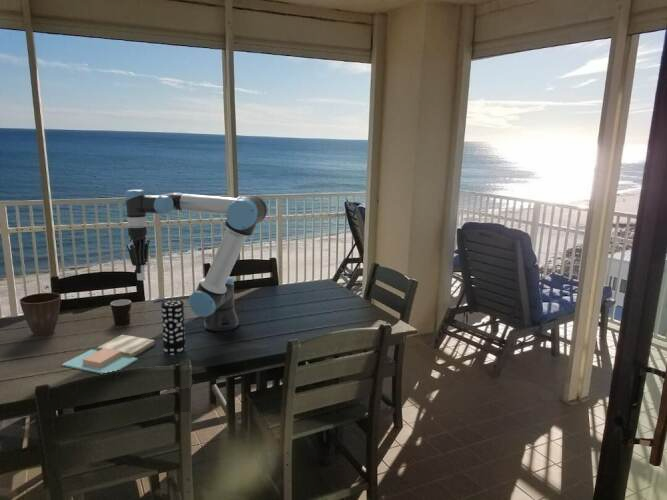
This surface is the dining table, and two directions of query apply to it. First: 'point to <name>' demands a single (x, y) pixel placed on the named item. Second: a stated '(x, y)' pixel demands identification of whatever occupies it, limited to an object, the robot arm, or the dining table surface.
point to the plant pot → (41, 312)
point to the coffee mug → (121, 312)
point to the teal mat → (109, 367)
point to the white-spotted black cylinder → (173, 327)
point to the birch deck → (128, 345)
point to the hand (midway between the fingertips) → (141, 279)
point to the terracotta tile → (102, 357)
